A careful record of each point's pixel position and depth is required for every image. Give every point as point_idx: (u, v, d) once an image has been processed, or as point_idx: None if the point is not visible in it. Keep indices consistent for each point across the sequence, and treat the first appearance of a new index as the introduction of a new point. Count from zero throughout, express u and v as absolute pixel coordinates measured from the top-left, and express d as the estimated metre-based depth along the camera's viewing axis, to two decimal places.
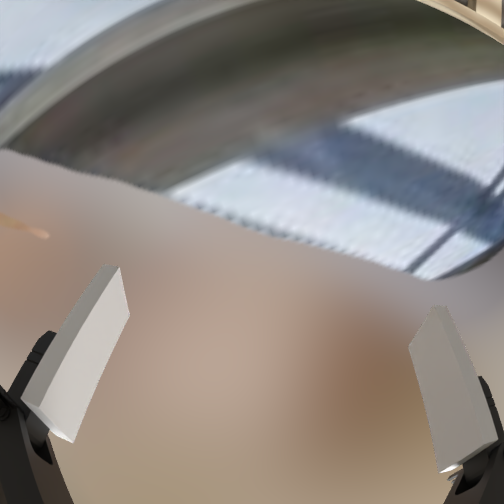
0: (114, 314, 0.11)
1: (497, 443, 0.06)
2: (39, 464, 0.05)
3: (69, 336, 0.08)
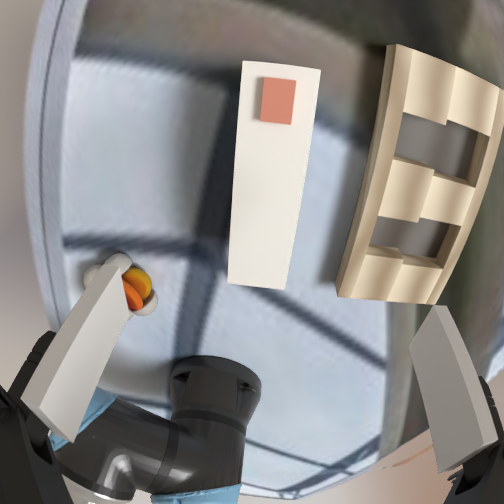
0: (114, 314, 0.11)
1: (497, 443, 0.06)
2: (39, 464, 0.05)
3: (69, 336, 0.08)
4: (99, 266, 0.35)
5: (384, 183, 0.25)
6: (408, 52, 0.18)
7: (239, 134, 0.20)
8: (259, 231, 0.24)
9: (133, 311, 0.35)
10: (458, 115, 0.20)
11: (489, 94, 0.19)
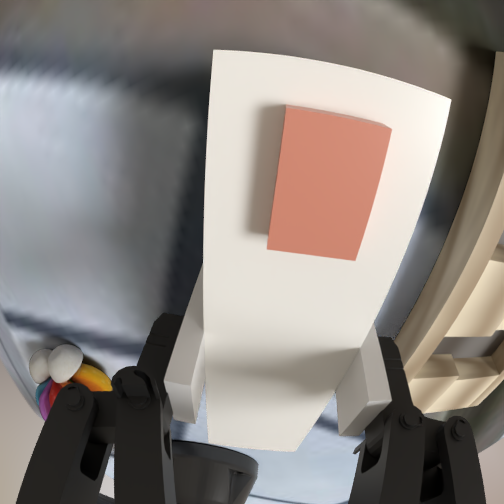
0: None
1: None
2: (165, 461, 0.06)
3: (201, 314, 0.10)
4: (45, 355, 0.23)
5: (468, 295, 0.13)
6: None
7: (210, 268, 0.08)
8: (258, 410, 0.12)
9: None
10: None
11: None
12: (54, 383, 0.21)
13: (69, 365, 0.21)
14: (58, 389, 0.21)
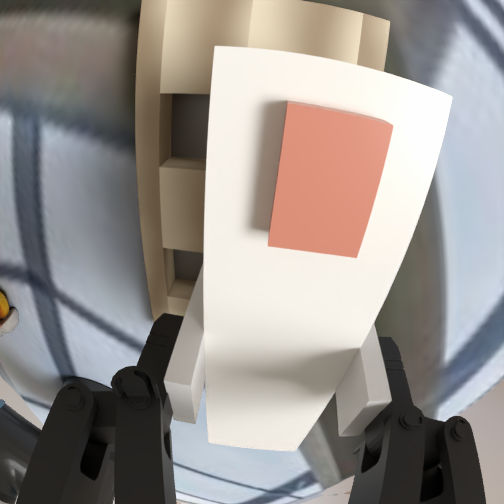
0: None
1: None
2: (165, 461, 0.06)
3: (201, 314, 0.10)
4: None
5: (157, 202, 0.18)
6: (161, 3, 0.11)
7: (210, 265, 0.08)
8: (258, 409, 0.12)
9: None
10: None
11: (338, 26, 0.12)
12: None
13: None
14: None
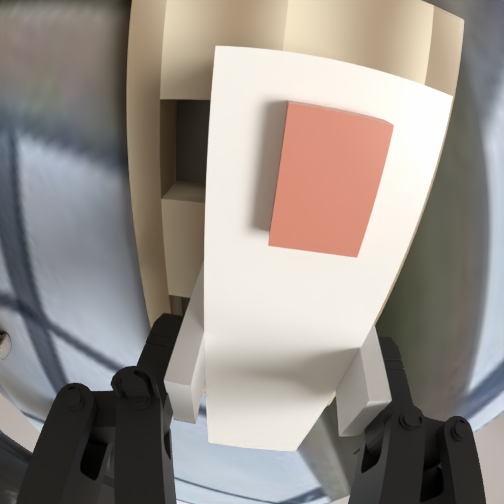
0: None
1: None
2: (165, 461, 0.06)
3: (201, 314, 0.10)
4: None
5: (160, 243, 0.14)
6: None
7: (211, 265, 0.08)
8: (259, 409, 0.12)
9: None
10: None
11: (405, 19, 0.08)
12: None
13: None
14: None
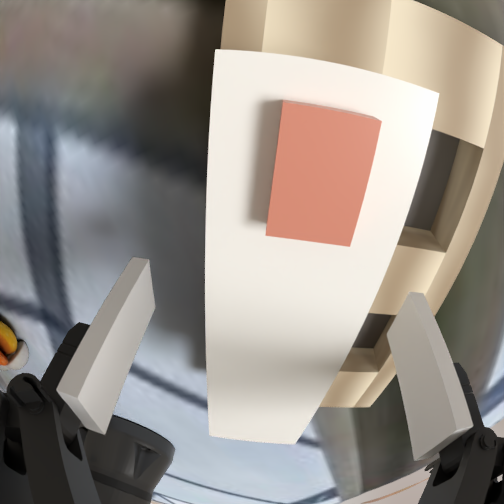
0: (143, 306, 0.12)
1: (474, 431, 0.07)
2: (71, 460, 0.06)
3: (104, 326, 0.09)
4: None
5: None
6: None
7: (212, 255, 0.08)
8: (258, 400, 0.12)
9: (5, 364, 0.24)
10: None
11: (481, 56, 0.08)
12: None
13: None
14: None
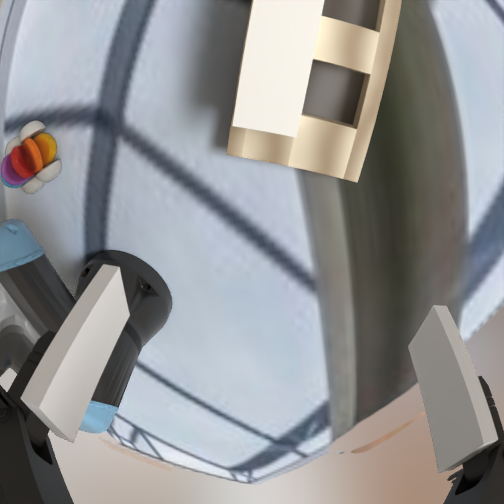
0: (114, 314, 0.11)
1: (497, 443, 0.06)
2: (39, 464, 0.05)
3: (69, 336, 0.08)
4: None
5: None
6: None
7: None
8: (273, 63, 0.19)
9: (36, 175, 0.30)
10: None
11: None
12: (19, 145, 0.28)
13: (34, 125, 0.28)
14: (20, 147, 0.28)
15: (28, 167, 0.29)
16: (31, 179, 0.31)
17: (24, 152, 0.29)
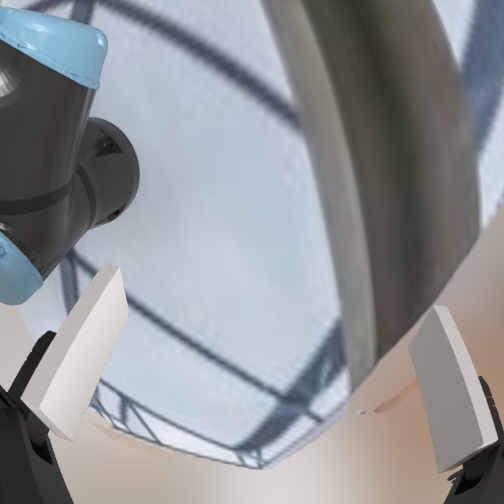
0: (114, 314, 0.11)
1: (497, 443, 0.06)
2: (39, 464, 0.05)
3: (69, 336, 0.08)
4: None
5: None
6: None
7: None
8: None
9: None
10: None
11: None
12: None
13: None
14: None
15: None
16: None
17: None
